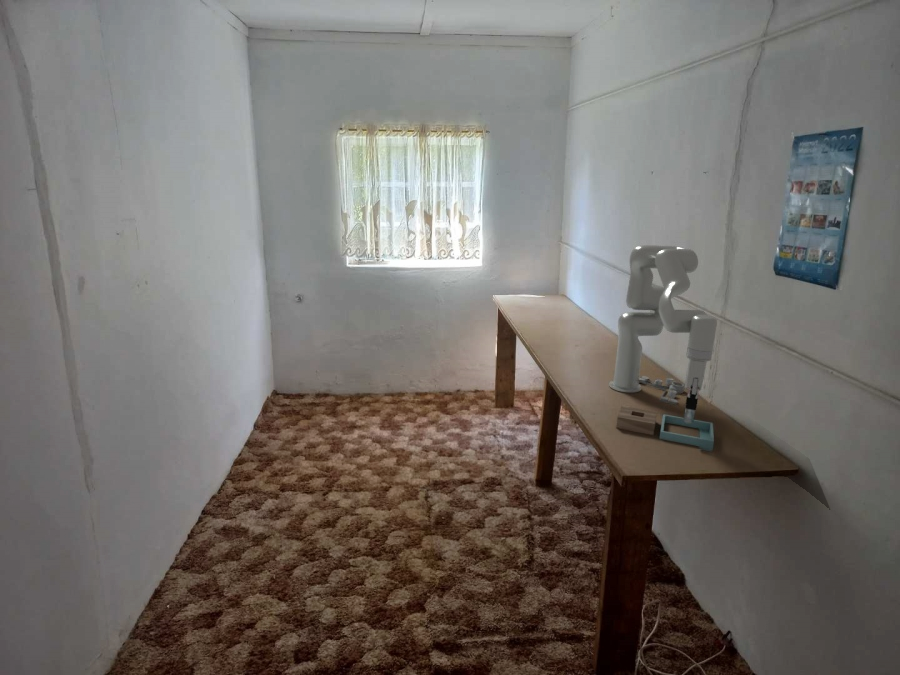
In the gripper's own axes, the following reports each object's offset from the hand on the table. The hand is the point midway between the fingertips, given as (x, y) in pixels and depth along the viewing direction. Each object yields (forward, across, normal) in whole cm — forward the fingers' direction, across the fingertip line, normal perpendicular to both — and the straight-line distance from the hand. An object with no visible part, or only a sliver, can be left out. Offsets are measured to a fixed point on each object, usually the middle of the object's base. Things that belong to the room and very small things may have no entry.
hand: (690, 406), depth 191 cm
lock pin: (+5, 0, 0) cm, 5 cm away
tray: (+11, 0, 0) cm, 11 cm away
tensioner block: (+11, 0, -16) cm, 19 cm away
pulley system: (+11, -44, -8) cm, 46 cm away
